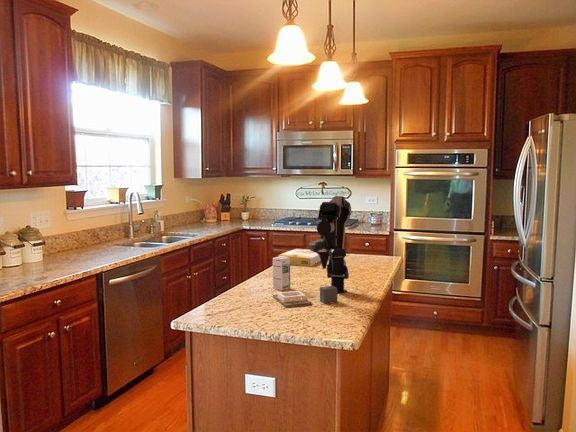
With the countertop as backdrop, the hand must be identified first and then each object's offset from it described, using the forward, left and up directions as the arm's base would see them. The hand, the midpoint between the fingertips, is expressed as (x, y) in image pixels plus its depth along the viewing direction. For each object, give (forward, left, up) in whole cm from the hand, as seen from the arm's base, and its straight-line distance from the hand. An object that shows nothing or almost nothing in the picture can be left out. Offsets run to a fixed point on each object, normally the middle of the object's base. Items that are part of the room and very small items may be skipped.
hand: (329, 270), depth 190 cm
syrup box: (-27, -11, -13) cm, 32 cm away
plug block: (0, 0, -13) cm, 13 cm away
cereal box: (-84, +23, -14) cm, 88 cm away
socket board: (-6, -14, -13) cm, 20 cm away
